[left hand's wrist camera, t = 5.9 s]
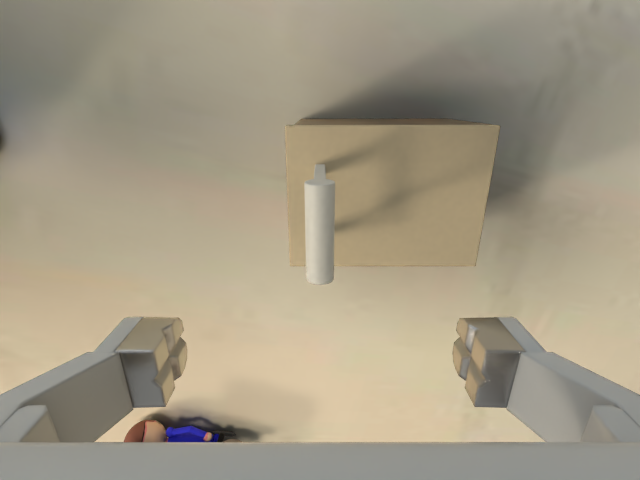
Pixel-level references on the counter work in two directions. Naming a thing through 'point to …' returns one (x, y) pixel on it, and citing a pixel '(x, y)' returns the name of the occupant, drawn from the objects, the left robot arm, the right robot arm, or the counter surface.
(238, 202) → the counter surface
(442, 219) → the lid
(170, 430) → the figurine character
